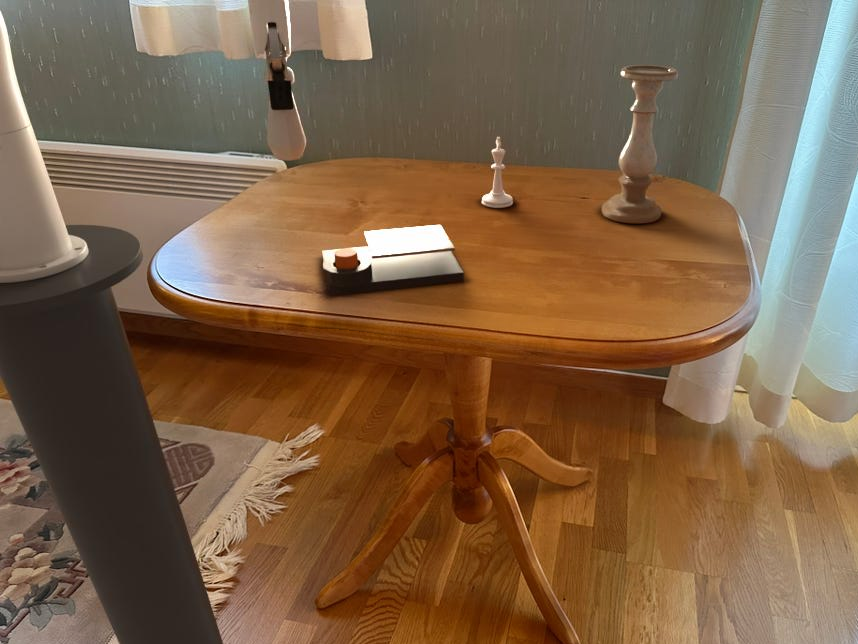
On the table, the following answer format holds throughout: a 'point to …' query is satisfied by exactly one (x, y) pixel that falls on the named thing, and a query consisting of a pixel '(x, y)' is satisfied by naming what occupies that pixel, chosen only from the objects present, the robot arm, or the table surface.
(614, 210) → the candle holder
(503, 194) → the chess piece
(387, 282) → the scale
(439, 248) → the weighing plate
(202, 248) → the table surface
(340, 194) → the table surface
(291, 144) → the salt shaker
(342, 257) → the button
